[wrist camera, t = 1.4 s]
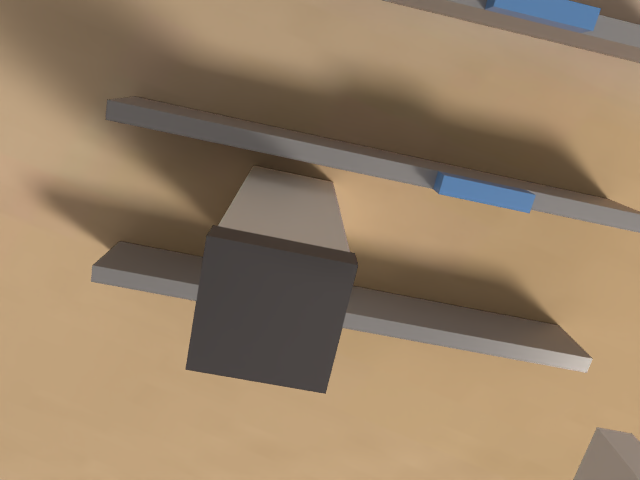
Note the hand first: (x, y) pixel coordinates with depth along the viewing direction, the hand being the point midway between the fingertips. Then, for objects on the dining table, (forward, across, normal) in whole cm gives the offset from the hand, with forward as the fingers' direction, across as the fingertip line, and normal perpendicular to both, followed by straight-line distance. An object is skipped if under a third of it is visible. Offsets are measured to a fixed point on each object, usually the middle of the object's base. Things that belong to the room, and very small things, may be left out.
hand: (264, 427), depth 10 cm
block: (+17, 0, 0) cm, 17 cm away
